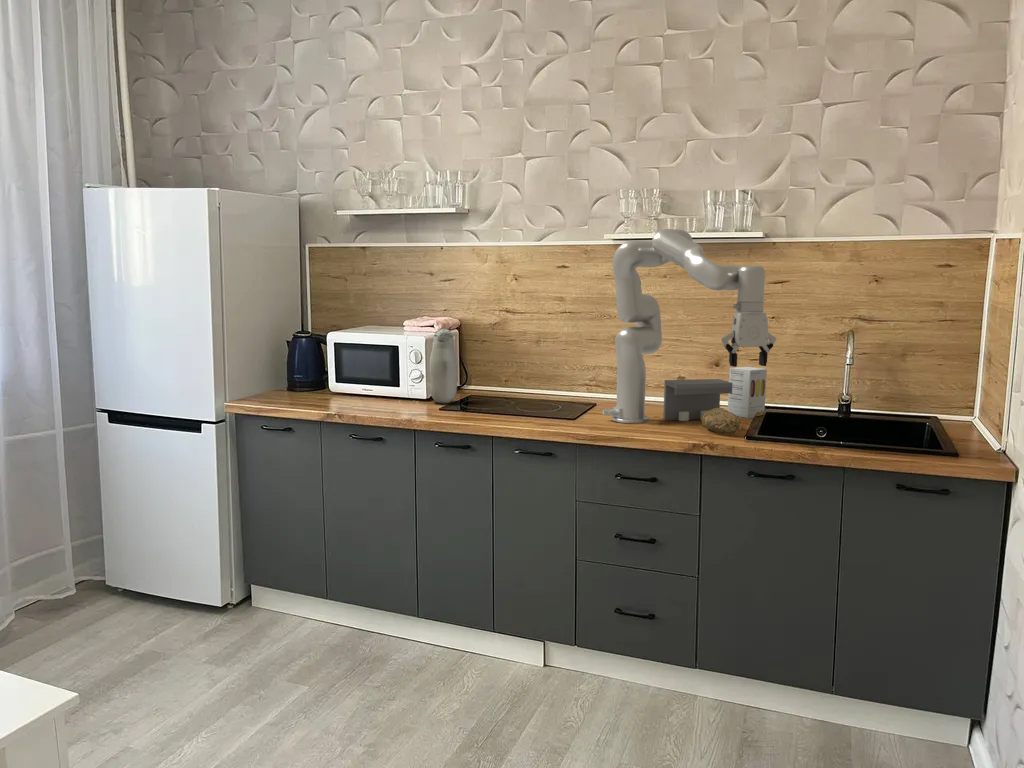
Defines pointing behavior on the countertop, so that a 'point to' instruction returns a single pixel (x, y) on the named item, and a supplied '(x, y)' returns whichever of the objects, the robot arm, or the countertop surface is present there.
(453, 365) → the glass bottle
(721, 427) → the rough tan stone
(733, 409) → the supplement box
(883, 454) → the countertop surface
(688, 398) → the grey footed stand
